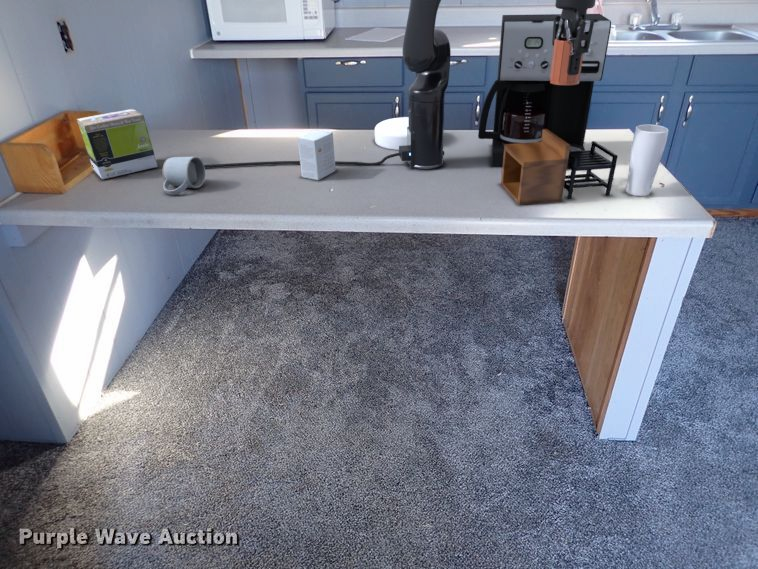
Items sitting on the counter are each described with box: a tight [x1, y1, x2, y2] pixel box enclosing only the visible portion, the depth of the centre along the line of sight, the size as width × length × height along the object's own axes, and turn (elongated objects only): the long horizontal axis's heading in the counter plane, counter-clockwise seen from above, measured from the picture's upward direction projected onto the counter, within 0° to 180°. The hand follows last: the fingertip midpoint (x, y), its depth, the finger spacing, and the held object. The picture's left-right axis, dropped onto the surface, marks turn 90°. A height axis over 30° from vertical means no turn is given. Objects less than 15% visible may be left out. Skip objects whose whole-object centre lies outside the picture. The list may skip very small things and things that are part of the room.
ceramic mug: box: [161, 156, 206, 196], centre depth 136 cm, size 11×8×8 cm
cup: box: [550, 38, 585, 85], centre depth 114 cm, size 6×6×8 cm
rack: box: [564, 140, 619, 200], centre depth 127 cm, size 10×11×10 cm
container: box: [374, 116, 409, 151], centre depth 166 cm, size 20×20×5 cm
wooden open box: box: [500, 129, 570, 206], centre depth 125 cm, size 10×13×13 cm
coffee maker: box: [477, 13, 612, 170], centre depth 142 cm, size 28×20×35 cm
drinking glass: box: [625, 123, 670, 197], centre depth 123 cm, size 7×7×15 cm
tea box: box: [76, 108, 158, 180], centre depth 147 cm, size 15×10×15 cm
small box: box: [297, 129, 336, 181], centre depth 141 cm, size 8×6×10 cm
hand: (566, 71), depth 115 cm, fingers closed on cup, 6 cm apart
